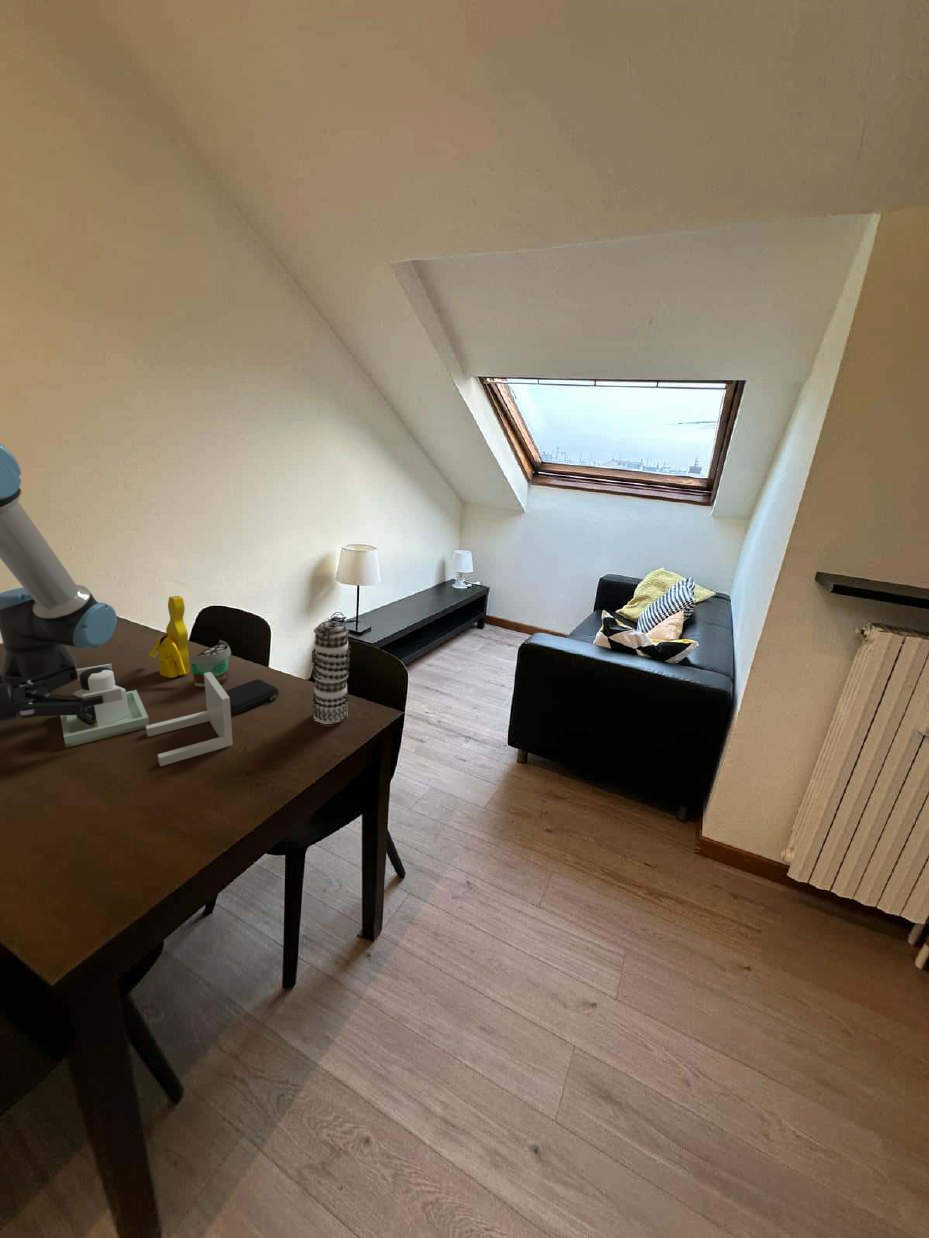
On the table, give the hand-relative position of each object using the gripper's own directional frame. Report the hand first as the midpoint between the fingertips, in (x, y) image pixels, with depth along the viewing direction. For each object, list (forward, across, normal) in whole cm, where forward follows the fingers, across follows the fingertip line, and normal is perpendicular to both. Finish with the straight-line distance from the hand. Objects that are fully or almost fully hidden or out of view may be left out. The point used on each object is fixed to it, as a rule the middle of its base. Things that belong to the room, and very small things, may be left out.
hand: (116, 680), depth 110 cm
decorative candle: (+41, +24, -10) cm, 48 cm away
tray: (-3, 0, -10) cm, 10 cm away
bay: (+11, +17, -10) cm, 22 cm away
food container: (+23, -7, -10) cm, 26 cm away
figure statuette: (+15, -18, -10) cm, 25 cm away
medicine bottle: (-3, 0, -9) cm, 10 cm away
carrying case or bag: (+26, +6, -10) cm, 29 cm away
